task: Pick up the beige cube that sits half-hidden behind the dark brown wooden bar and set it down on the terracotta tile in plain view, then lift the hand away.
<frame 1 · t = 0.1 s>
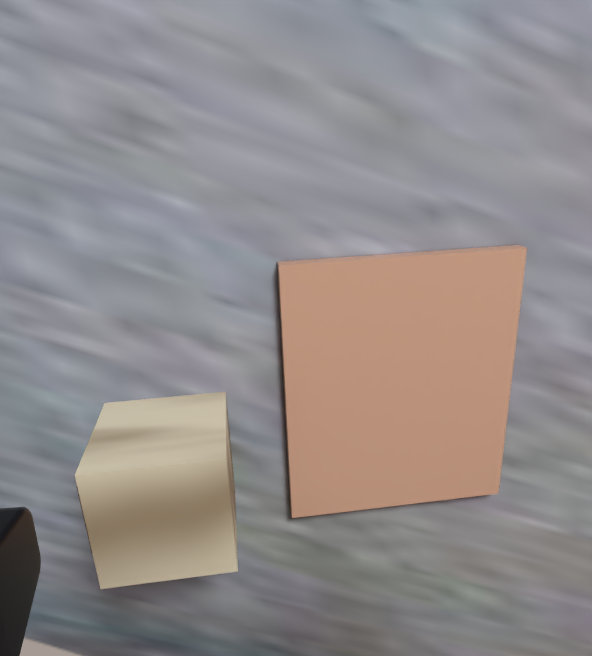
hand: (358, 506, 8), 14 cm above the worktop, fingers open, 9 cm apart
terracotta tile: (397, 386, 24), on the worktop
beige cube: (173, 446, 24), on the worktop
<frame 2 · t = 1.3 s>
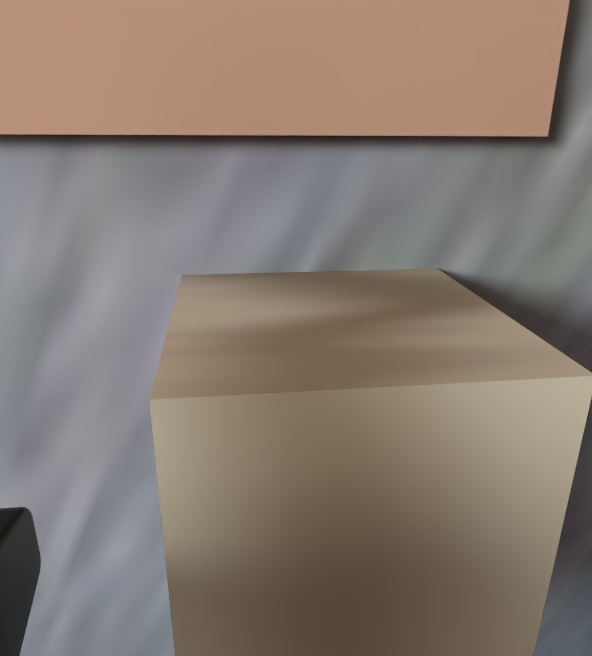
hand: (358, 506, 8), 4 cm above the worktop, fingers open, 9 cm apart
beige cube: (310, 385, 11), on the worktop
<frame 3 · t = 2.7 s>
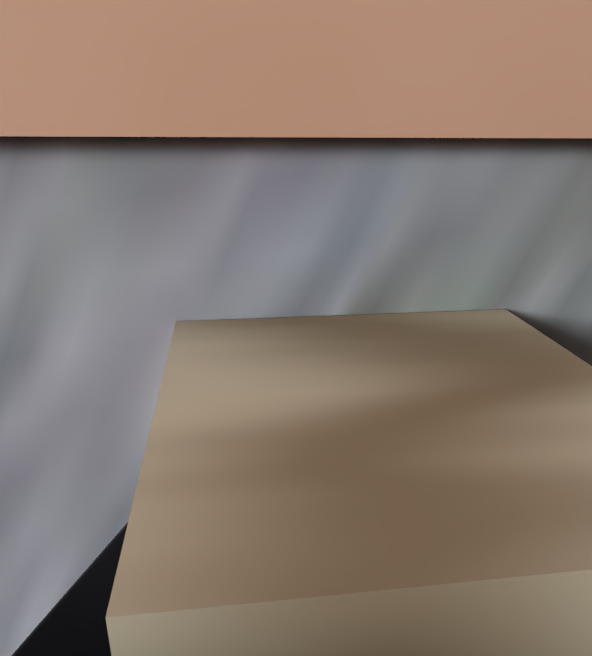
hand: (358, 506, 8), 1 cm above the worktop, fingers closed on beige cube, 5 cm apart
beige cube: (341, 457, 9), on the worktop, touching gripper
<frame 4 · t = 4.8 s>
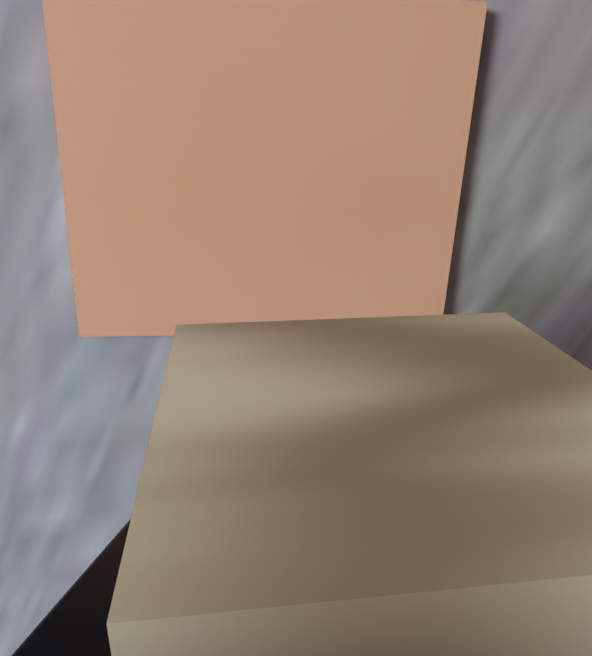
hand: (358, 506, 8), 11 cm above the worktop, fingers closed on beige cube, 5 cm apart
terracotta tile: (269, 177, 17), on the worktop
beige cube: (340, 460, 9), point 10 cm above the worktop, touching gripper
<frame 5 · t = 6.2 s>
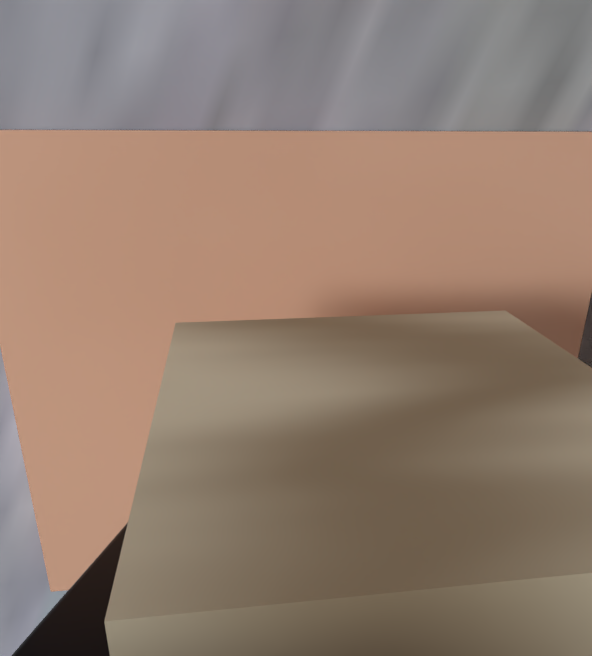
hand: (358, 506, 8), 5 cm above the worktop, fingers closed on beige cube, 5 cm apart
terracotta tile: (307, 371, 12), on the worktop
beige cube: (340, 458, 9), point 3 cm above the worktop, touching gripper
when the fingers open (3 cm above the worktop, at t = 7.4 s): beige cube stays where it is, resting on terracotta tile.
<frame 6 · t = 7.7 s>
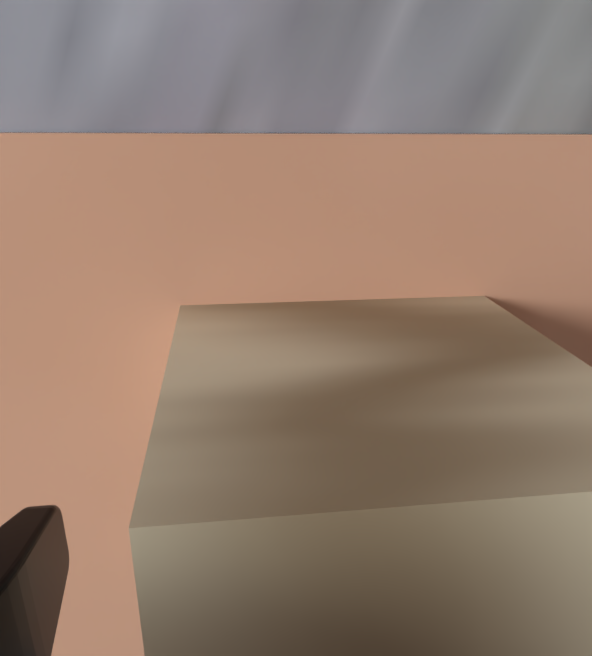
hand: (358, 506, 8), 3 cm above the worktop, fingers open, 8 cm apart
terracotta tile: (324, 415, 10), on the worktop
beige cube: (332, 434, 10), point 1 cm above the worktop, touching terracotta tile
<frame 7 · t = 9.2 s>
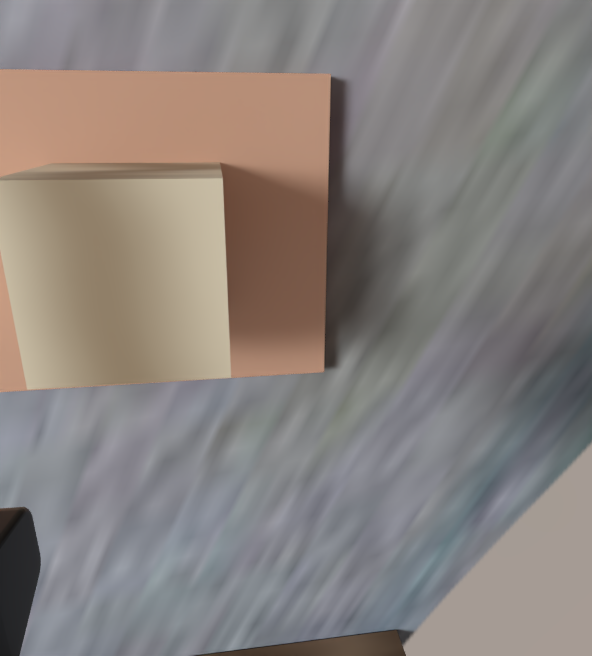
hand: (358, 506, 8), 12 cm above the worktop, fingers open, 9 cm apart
terracotta tile: (145, 239, 18), on the worktop
beige cube: (145, 243, 17), point 1 cm above the worktop, touching terracotta tile
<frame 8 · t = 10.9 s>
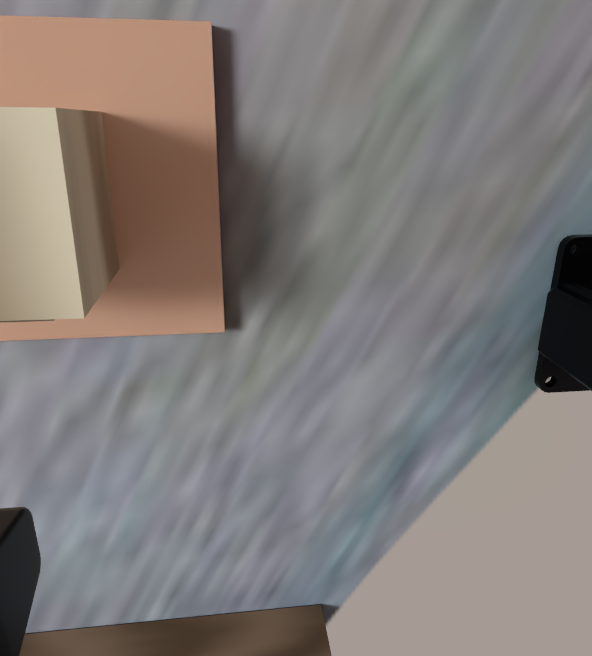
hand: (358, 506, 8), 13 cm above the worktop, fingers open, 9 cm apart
terracotta tile: (35, 191, 18), on the worktop
beige cube: (30, 194, 17), point 1 cm above the worktop, touching terracotta tile
dark brown wooden bar: (151, 631, 25), on the worktop
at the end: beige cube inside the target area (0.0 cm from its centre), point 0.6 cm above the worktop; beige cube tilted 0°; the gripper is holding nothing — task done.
